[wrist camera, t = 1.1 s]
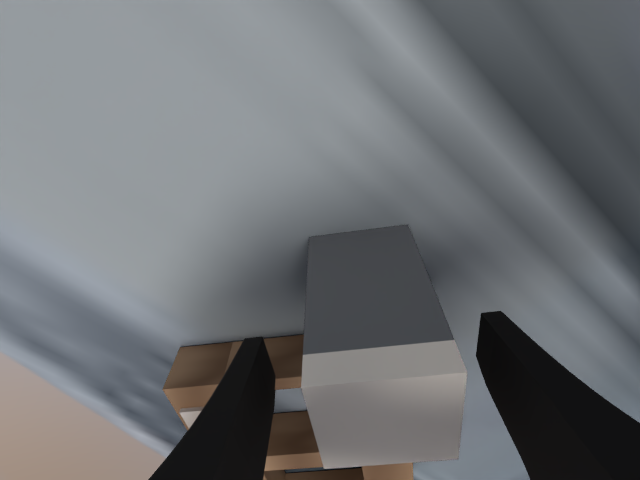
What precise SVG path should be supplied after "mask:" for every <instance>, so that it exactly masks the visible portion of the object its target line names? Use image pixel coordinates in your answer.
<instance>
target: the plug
mask: <svg viewBox="0 0 640 480" xmlns="http://www.w3.org/2000/svg"><path fill="white" fill-rule="evenodd" d="M466 380H467V370H466V368H465V365H464V363H463V360H462V358H461V355H460V353H459V350H458V348H457V345H456V343H455V340H454V338H453V335H452V333H451V330H450V328H449V325H448V323H447V320H446V318H445V315H444V313H443V310H442V308H441V305H440V303H439V300H438V298H437V295H436V293H435V290H434V288H433V285H432V283H431V280H430V278H429V275H428V273H427V270H426V268H425V266H424V263H423V261H422V258H421V256H420V253H419V251H418V248H417V246H416V243H415V241H414V238H413V236H412V233H411V231H410V228H409V226H408V224H407V225H399V226H392V227H384V228H376V229H368V230H360V231H352V232H344V233H336V234H328V235H320V236H312V237H309V248H308V267H307V285H306V304H305V323H304V342H303V361H302V379H301V389H302V393H303V396H304V400H305V403H306V407H307V410H308V414H309V417H310V421H311V424H312V428H313V431H314V435H315V438H316V442H317V446H318V449H319V453H320V456H321V460H322V463H323V467H324V469H331V468H345V467H359V466H373V465H386V464H400V463H414V462H428V461H442V460H455V459H458V457H459V448H460V438H461V429H462V419H463V409H464V400H465V390H466Z"/></svg>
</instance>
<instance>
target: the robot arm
mask: <svg viewBox="0 0 640 480" xmlns="http://www.w3.org/2000/svg"><path fill="white" fill-rule="evenodd" d="M476 357H477V360H478V363H479V366H480V369H481V372H482V375H483V377H484V380H485V383H486V386H487V388H488V390H489V392H490V394H491V396H492V399H493V401H494V403H495V405H496V407H497V409H498V411H499V413H500V415H501V417H502V419H503V421H504V423H505V425H506V427H507V429H508V432H509V434H510V436H511V438H512V440H513V442H514V444H515V446H516V448H517V450H518V452H519V454H520V456H521V458H522V461H523V463H524V465H525V468H526V470H527V472H528V475H529V477H530V480H640V423H639V422H637V421H636V420H634V419H633V418H631V417H630V416H629V415H627V414H626V413H624V412H623V411H621V410H620V409H618V408H617V407H615V406H614V405H613V404H611V403H610V402H608V401H607V400H606V399H604V398H603V397H602V396H600V395H599V394H598V393H596V392H595V391H594V390H592V389H591V388H590V387H588V386H587V385H586V384H585V383H583V382H582V381H581V380H579V379H578V378H577V377H576V376H574V375H573V374H572V373H571V372H569V371H568V370H567V369H566V368H565V367H563V366H562V365H561V364H560V363H559V362H557V361H556V360H555V359H554V358H553V357H552V356H550V355H549V354H548V353H547V352H546V351H545V350H543V349H542V348H541V347H540V346H539V345H538V344H537V343H535V342H534V341H533V340H532V339H531V338H530V337H529V336H528V335H527V334H525V333H524V332H523V331H522V330H521V329H520V328H519V327H518V326H517V325H516V324H515V323H514V322H512V321H511V320H510V319H509V318H508V317H507V316H506V315H505V314H504V313H503V312H501V311H496V312H487V313H481V318H480V327H479V335H478V343H477V352H476ZM275 379H276V375H275V372H274V369H273V366H272V363H271V360H270V357H269V354H268V351H267V348H266V345H265V342H264V339H263V337H256V338H247V339H244V341H243V342H242V344H241V346H240V347H239V349H238V351H237V353H236V355H235V357H234V358H233V360H232V362H231V364H230V366H229V367H228V369H227V371H226V372H225V374H224V376H223V378H222V379H221V381H220V383H219V384H218V386H217V387H216V389H215V391H214V392H213V394H212V396H211V397H210V399H209V400H208V402H207V403H206V405H205V406H204V408H203V409H202V411H201V412H200V414H199V415H198V417H197V418H196V420H195V421H194V423H193V424H192V425H191V427H190V428H189V430H188V431H187V432H186V434H185V435H184V436H183V438H182V439H181V440H180V442H179V443H178V444H177V446H176V447H175V448H174V449H173V451H172V452H171V453H170V454H169V456H168V457H167V458H166V459H165V461H164V462H163V463H162V464H161V465H160V467H159V468H158V469H157V470H156V471H155V472H154V474H153V475H152V476H151V477H150V478H149V480H263V477H264V470H265V464H266V457H267V451H268V445H269V438H270V432H271V425H272V419H273V412H274V403H275Z"/></svg>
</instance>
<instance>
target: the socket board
mask: <svg viewBox="0 0 640 480" xmlns="http://www.w3.org/2000/svg"><path fill="white" fill-rule="evenodd" d="M242 342H243V341H237V342H228V343H218V344H208V345H199V346H189V347H180V349H179V351H178V354H177V356H176V358H175V361H174V363H173V366H172V368H171V370H170V373H169V375H168V378H167V380H166V382H165V385H164V387H163V391H164V393H165V394H166V396H167V398H168V399H169V401H170V402H171V404H172V406H173V407H174V409H175V411H176V412H177V414H178V416H179V417H180V419H181V420H182V422H183V424H184V425H185V427H186V429H187V430H189V428H190V427H191V425H192V424H193V423H194V421H195V420H196V418H197V417H198V415H199V414H200V412H201V411H202V409H203V408H204V406H205V405H206V403H207V402H208V400H209V399H210V397H211V396H212V394H213V392H214V391H215V389H216V387H217V386H218V384H219V383H220V381H221V379H222V378H223V376H224V374H225V372H226V371H227V369H228V367H229V366H230V364H231V362H232V360H233V358H234V357H235V355H236V353H237V351H238V349H239V347H240V346H241V344H242ZM264 342H265V345H266V348H267V351H268V354H269V357H270V360H271V363H272V366H273V369H274V372H275V375H276V379H275V390H279V389H290V388H301V379H302V361H303V342H304V335H295V336H286V337H276V338H266V339H264ZM313 467H323V463H322V460H321V456H320V453H319V449H318V446H317V442H316V438H315V435H314V431H313V428H312V424H311V421H310V417H309V414H308V411H300V412H289V413H277V414H273V419H272V425H271V432H270V438H269V445H268V451H267V457H266V464H265V470H264V477H263V480H413V463H400V464H386V465H373V466H362V468H356V469H342V470H328V471H314V472H300V473H285V471H284V470H286V469H299V468H313Z"/></svg>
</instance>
